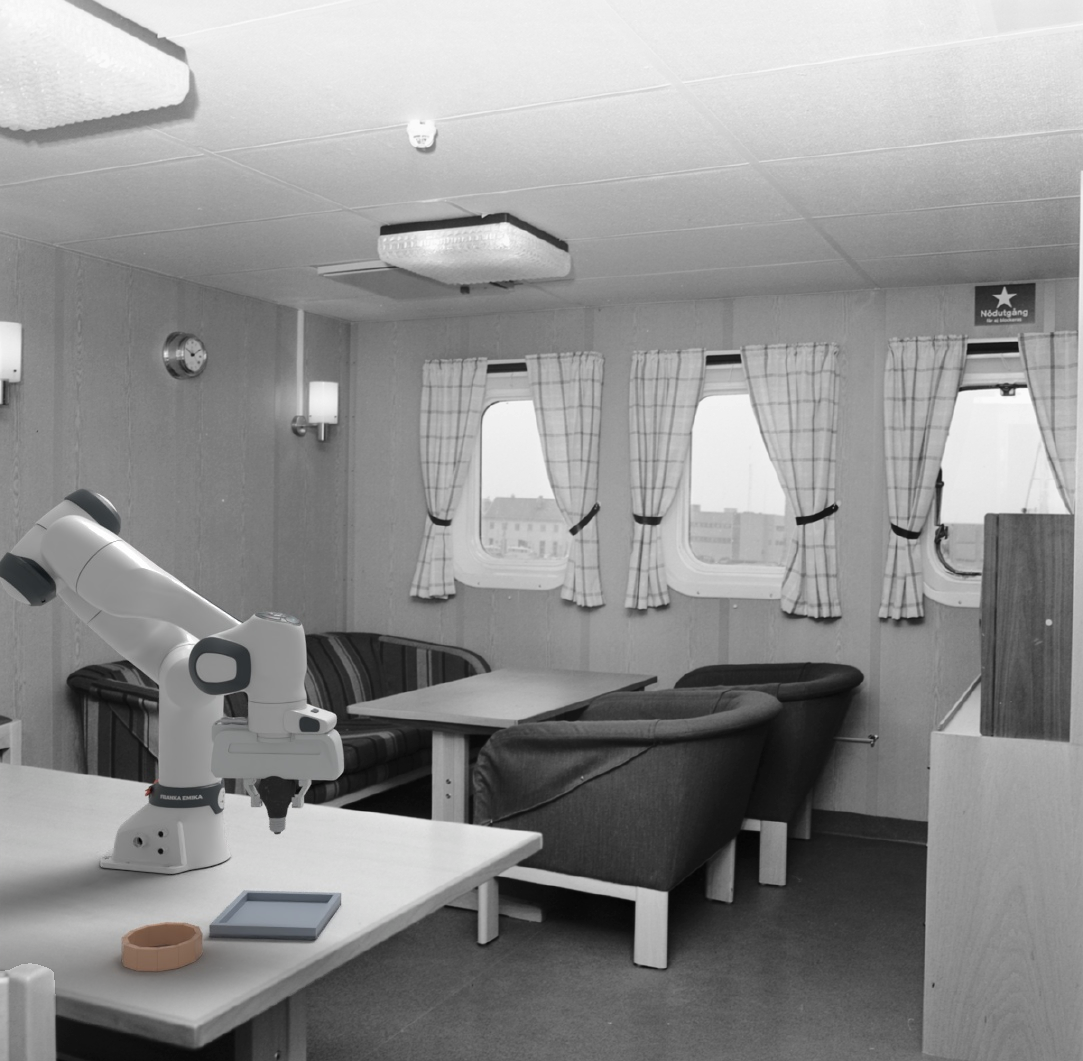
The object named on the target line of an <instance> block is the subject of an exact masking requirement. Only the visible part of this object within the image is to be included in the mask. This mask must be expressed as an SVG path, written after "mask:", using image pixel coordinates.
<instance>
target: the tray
mask: <svg viewBox="0 0 1083 1061" xmlns="http://www.w3.org/2000/svg"><path fill="white" fill-rule="evenodd" d="M340 906H342V892H322V891H321V892H319V891H317V892H316V891H315V892H314V891H287V890H286V891H279V890H277V891H275V890H245V889H244V890H243V891H242V892H241V893H240V894H239V895H237V896H236V897H235V899H233V900H232V902H231V903H230V904H229V905H228V906H226V908H224V910H222V912H220V914H219V915H217V917H216V918H215V919H214V920H212V922H211V923H209V925H208V926H209V927H208V928H209V933H208V934H209V938H225V939H226V938H227V939H228V938H232V939H239V938H240V939H259V940H260V939H264V940H265V939H267V940H293V941H294V940H297V941H303V940H305V941H317V939H318V938H319V937H320V935H321V934H322V932H323V931H324V929H325V928H326V927H327V925H328V923H329V922H330V921H331V919H332V918H333V917H334V915H335V913H336V912H337V910H339V908H340Z"/></svg>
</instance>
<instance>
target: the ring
mask: <svg viewBox="0 0 1083 1061" xmlns="http://www.w3.org/2000/svg"><path fill="white" fill-rule="evenodd" d="M120 940H121V954H120V955H121V958H120V959H121V963H122V965H123V967H125V968H128V969H131V970H134V971H136V972H162V971H168V970H175V969H181V968H182V967H185V966H187V965H190V964H192V963H195V962H197V961H198V960H199V958H200V957H201V956H203V932H202V929H201V928H200V926H197V925H195V924H191V923H188V922H177V921H176V922H175V921H174V922H173V921H171V922H168V921H167V922H159V923H153V924H146V925H143V926H140V927H138V928H134V929H132V930H129V931H128V932H127V933H126V934H124V935H123V936H122V937H121V939H120ZM165 945H166V946H165Z"/></svg>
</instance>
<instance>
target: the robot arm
mask: <svg viewBox="0 0 1083 1061" xmlns="http://www.w3.org/2000/svg"><path fill="white" fill-rule="evenodd" d="M121 528H122V519H121V516H120V515H119V513H118V511H117V509H116V508H115V506H114V505H113V504H112V502H111V501H110V500H108V498H107V497H105V496H103V495H101V494H100V493H97V492H95V491H94V490H92V489H87V488H80V489H77V490H76V491H73V492H72V493H70V494H68V495H67V496H65V497H64V500H63V501H62V502H60V503H59V504H57V505H56V506H54V507H53V508H52V509H50V510H49V511H48V512H47V513H45V514H44V515H43V516H41V517H40V518H39V519H38V520H37V521H36V522H34V525H33V526H32V528H30V529H29V530H28V531H27V532H26V533H25V534H24V535H23V537H22V538H21V539H20V540H19V541H18V542H17V543H16V544H15V545H14V546H13V548H12V549H11V551H10V552H5V554H4V556H2V558H1V559H0V584H1V586H2V588H3V589H4V591H5V592H6V593H7V594H8V595H9V596H10V597H11V598H12V599H14V600H16V601H18V602H20V603H22V604H26V605H28V606H29V607H42V606H44V605H47V603H50V601H53V600H54V599H55V598H57V595H58V596H59V597H60V599H61V600H62V601H63V602H64V603H65V604H66V606H67V607H68V608H69V609H70V610H71V611H72V613H74V614H75V616H77V617H78V618H79V619H80V620H81V621H82V622H83V623H84V624H85V625H86V626H87V627H89V628H90V629H91V630H92V631H93V632H94V633H95V634H96V635H97V636H98V637H99V638H100V639H102V640H103V641H104V642H105V643H106V644H107V645H108V646H110V647H111V648H112V649H113V650H114V651H116V652H117V653H118V654H119V655H120V656H121V657H123V658H124V659H126V661H129V662H130V664H132V665H133V666H135V667H136V668H137V669H138V670H140V671H141V672H142V673H143V674H145V675H146V676H147V677H149V679H150V680H152V681H153V682H154V683H155V684H157V685H158V698H159V699H158V779H155V780H154V782H153V784H151V785H150V786H148V788H147V789H145V790H144V792H145V794H144V797H147V796H148V803H147V804H144V806H142V807H141V808H140V809H138V810H137V811H136V812H134V813H133V814H132V815H131V816H130V817H129V818H128V819H126V820H125V821H124V822H122V823H121V825H120V826H119V828H118V829H117V831H116V834H115V838H114V842H113V843H114V844H113V848H111V849H109V850H108V851H106V852H105V853H104V854H102V856H101V858H100V860H99V861H100V862H99V866H100V867H101V868H104V869H113V870H114V869H115V870H124V871H125V870H127V871H136V872H147V873H157V874H167V875H168V874H169V875H171V874H172V875H174V874H179V873H183V872H186V871H190V870H195V869H202V868H208V867H211V866H215V865H218V864H221V863H224V862H226V861H227V860H229V859H231V857H232V852H231V848H230V847H229V846H230V845H229V843H228V839H227V838H228V837H227V833H226V826H225V818H224V810H225V804H226V790H225V789H226V788H225V779H243V787H244V789H245V790H246V792H247V794H248V796H249V797H250V807H251V808H262V807H264V803H263V801H262V800H261V797H260V795H259V791H258V790H257V788H256V787H255V783H256V782H257V779H258V780H259V779H260V780H261V779H265V778H267V777H269V776H278V777H281V778H283V779H294V780H298V786H299V787H301V789H300V791H299V792H298V794H295V795H294V796H293V797H292V801H291V803H292V804H291V808H292V809H302V808H303V807H304V806H305V795H306V793H307V792H308V790H309V789H310V787H311V785H312V780H313V781H336V780H337V779H338V778H339V777H340V776H341V775H342V774H343V773H344V769H345V757H344V756H345V755H344V748H343V741H342V738H341V735H340V734H339V731H337V729H334V728H335V727H336V726H337V721H338V720H337V719H338V717H337V715H336V713H334V712H332V711H328V710H326V709H324V708H320V707H317V706H314V705H311V704H309V703H308V700H307V699H308V698H307V691H306V688H305V678H306V675H307V669H308V668H307V667H308V664H307V663H308V661H307V658H308V657H307V643H306V635H305V630H304V626H303V624H302V622H301V620H299V619H298V618H296V616H294V615H291V614H288V613H284V612H278V611H277V612H276V611H259V612H256V613H253V614H252V615H251V617H250V618H249V619H247V620H245V621H244V620H242V619H241V618H239V617H237V616H235V615H234V614H232V613H230V611H227V610H226V609H225V608H223V607H222V606H220V605H218V604H217V603H215V602H214V601H212V599H210V598H208V597H206V596H205V595H203V594H202V593H200V592H198V590H195V589H193V588H192V587H191V586H189V585H187V584H186V583H184V582H183V581H181V580H179V579H178V578H176V577H175V576H174V575H172V574H171V573H169V572H168V571H166V570H164V568H162V567H160V566H158V565H157V564H156V563H155V562H153V561H152V560H151V559H149V558H148V556H147V557H146V556H145V555H144V554H142V553H141V552H140V551H138V549H136V548H135V547H134V546H132V545H131V544H130V543H129V542H127V541H126V540H124V539H123V538H121V537H120V536H119V534H120V532H121ZM240 692H243V693H246V695H247V700H248V702H247V704H248V705H247V706H248V707H247V710H248V711H247V712H248V713H247V714H248V715H247V716H238V717H230V716H224V705H225V704H224V701H225V700H224V699H225V696H227V695H231V694H234V693H240Z"/></svg>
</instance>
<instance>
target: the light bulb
mask: <svg viewBox="0 0 1083 1061" xmlns="http://www.w3.org/2000/svg"><path fill="white" fill-rule="evenodd" d="M295 780H296V779H283V778H281V777H278V776H269V777H267V778H265V779H260V781H259V784H258V794H259V795H260V797H261V800H262V801H263V806H265V808H266V812H267V816H268V820H269V821H268V825H269V826H268V828H269V830H270V831H271V832H272V833H273V835H281V832H283V831H284V830H286V825H287V822H286V820H287V819H286V818H287V816H288V809H289V808H290V805H291V803H292V797H293V796H294V795H296V791H297V784H296V781H295Z"/></svg>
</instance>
